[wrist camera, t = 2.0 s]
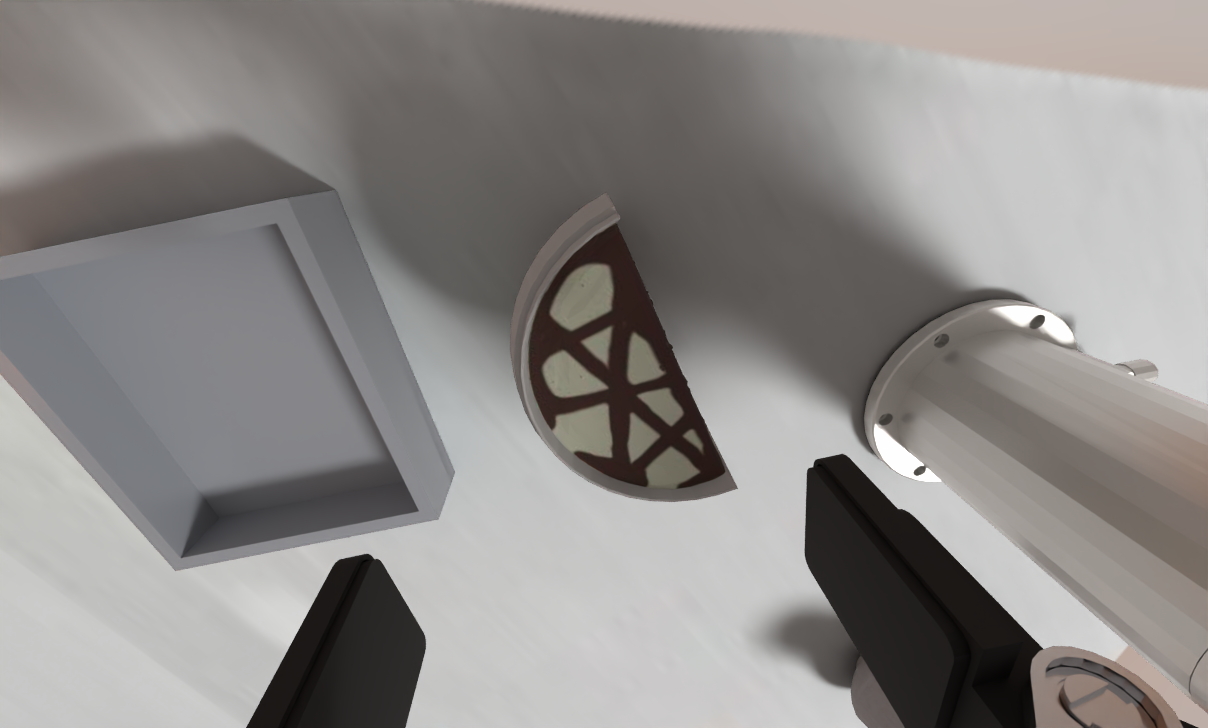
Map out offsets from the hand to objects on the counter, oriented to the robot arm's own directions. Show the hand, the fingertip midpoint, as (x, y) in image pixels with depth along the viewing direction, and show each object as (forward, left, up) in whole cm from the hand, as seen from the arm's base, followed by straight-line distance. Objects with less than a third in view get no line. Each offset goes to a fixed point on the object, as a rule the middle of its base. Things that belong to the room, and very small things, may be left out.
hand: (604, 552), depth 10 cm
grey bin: (+18, 0, -16) cm, 24 cm away
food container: (0, 0, -16) cm, 16 cm away
